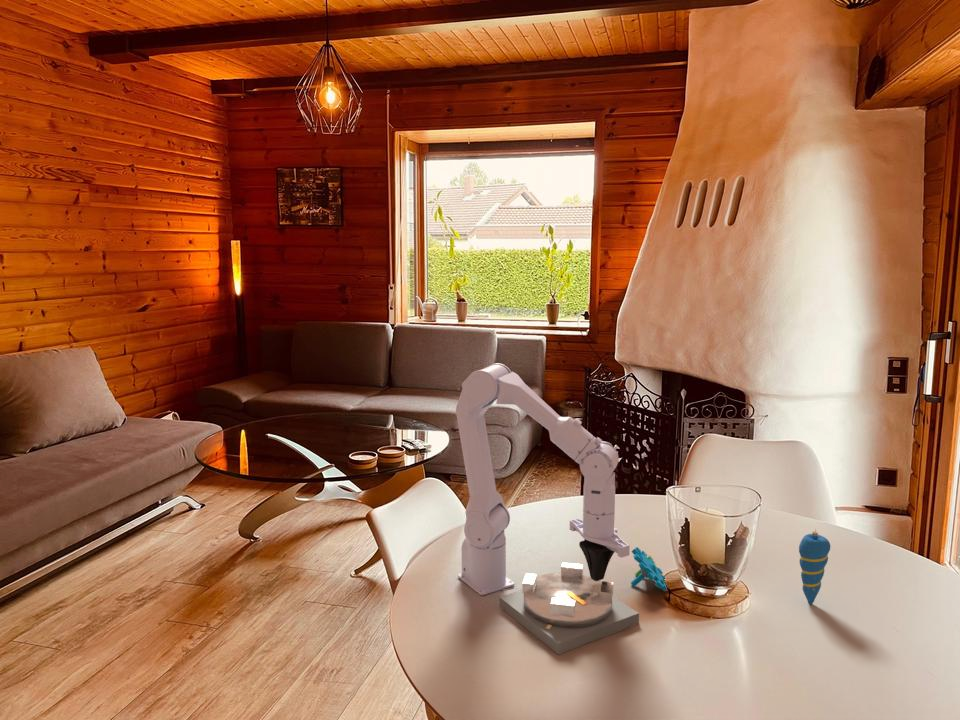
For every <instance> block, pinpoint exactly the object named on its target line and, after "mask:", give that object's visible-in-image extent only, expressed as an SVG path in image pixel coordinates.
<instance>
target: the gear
mask: <svg viewBox="0 0 960 720" xmlns="http://www.w3.org/2000/svg"><path fill="white" fill-rule="evenodd" d="M631 553H632V554H633V559H634V560H635V562H638V567H639V568H640V569H639V570H637V571H636V572H635V573H634V574H635V576H636V578H634V579H633V580H631V581H630V584H631V586H632V587H636V586H637V585H638V584H640V583H641V582H642V581H643V580H645V578H646V579H649V580H650V581H653V580H654V582H655V583H654V584H655V586H656V587H657V588H658V589H661V590H662V591H663V592H665V590H666V589H667V587H666V584H665V583H664V581H665V580H664V579H665V577H666V576H664V573H663V571H662V569H661V568H660V567H658V566H657V564H656V562H655V561H654V558H653V557H652V555H648V554H647V553H646V552H645V551H644V550H641V549H640V548H639V547H638V546H636V547H635V548H634V549H632V550H631Z"/></svg>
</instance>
